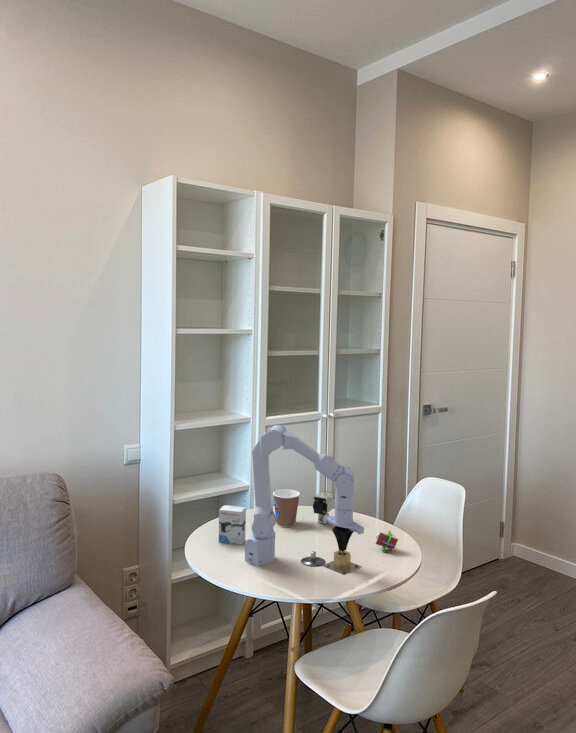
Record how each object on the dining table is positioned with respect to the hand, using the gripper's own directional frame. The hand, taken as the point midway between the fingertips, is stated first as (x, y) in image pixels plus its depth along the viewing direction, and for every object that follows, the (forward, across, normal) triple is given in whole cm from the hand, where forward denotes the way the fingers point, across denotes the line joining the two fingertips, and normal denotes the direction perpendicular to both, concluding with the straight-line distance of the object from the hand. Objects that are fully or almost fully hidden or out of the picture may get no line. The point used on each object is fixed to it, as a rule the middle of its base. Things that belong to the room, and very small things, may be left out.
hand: (342, 550), depth 189 cm
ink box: (+6, +41, +10) cm, 43 cm away
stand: (+6, +8, +4) cm, 11 cm away
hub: (+6, 0, 0) cm, 6 cm away
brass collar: (+5, 0, 0) cm, 5 cm away
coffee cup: (+6, +40, -16) cm, 44 cm away
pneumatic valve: (+6, +31, -28) cm, 42 cm away
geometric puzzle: (+6, -1, -23) cm, 24 cm away
